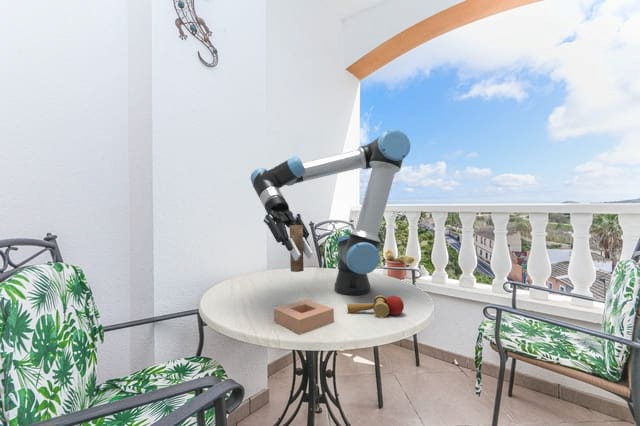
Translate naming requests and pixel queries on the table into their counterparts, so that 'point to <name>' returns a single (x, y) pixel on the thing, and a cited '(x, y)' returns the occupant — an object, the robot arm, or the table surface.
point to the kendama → (380, 306)
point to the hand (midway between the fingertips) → (304, 256)
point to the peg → (297, 238)
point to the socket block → (303, 316)
